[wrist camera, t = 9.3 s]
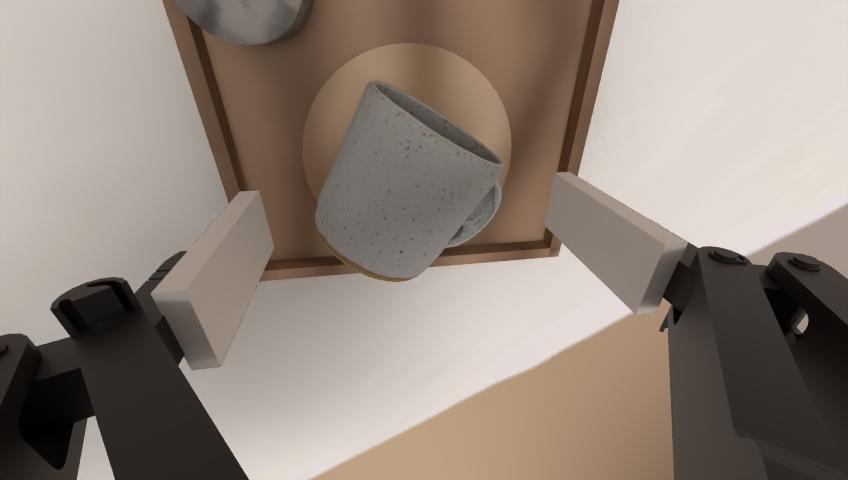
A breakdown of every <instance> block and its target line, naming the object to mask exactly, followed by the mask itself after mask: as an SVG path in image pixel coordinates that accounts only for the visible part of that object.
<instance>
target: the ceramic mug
mask: <svg viewBox="0 0 848 480" xmlns="http://www.w3.org/2000/svg"><path fill="white" fill-rule="evenodd" d="M504 168H505V166H504V163H503V162H502V160H501V159H500V158H499V157H498V156H497V155H496V154H495V153H494V152H493V151H491V150H490V149H489V148H487V147H486V146H485V145H484V144H483V143H481V142H480V141H479V140H477V139H476V138H475V137H474V136H472V135H471V134H469V133H468V132H466V131H465V130H464V129H462V128H461V127H460V126H458V125H457V124H455V123H454V122H452V121H451V120H449V119H447V118H446V117H444V116H443V115H441V114H440V113H439V112H437V111H436V110H434V109H432V108H431V107H429V106H427V105H426V104H424V103H422V102H421V101H419V100H418V99H416V98H413V97H412V96H411V95H409V94H407V93H405V92H403V91H401V90H399V89H397V88H395V87H393V86H391V85H389V84H387V83H383V82H380V81H371V82H370V83H368V84H367V86H366V88H365V90H364V92H363V95H362V97H361V100H360V102H359V105H358V107H357V110H356V112H355V114H354V116H353V119H352V121H351V123H350V125H349V128H348V130H347V132H346V135H345V137H344V139H343V142H342V144H341V146H340V149H339V151H338V154H337V157H336V159H335V161H334V163H333V166H332V168H331V170H330V172H329V175H328V177H327V179H326V182H325V184H324V186H323V188H322V191H321V193H320V196H319V201H318V205H317V209H316V213H315V224H316V229H317V231H318V234H319V236H320V238H321V240H322V241H323V243H324V244H325V246H326V247H327V248H328V249H329V251H330V252H331V253H332V254H333V255H334V256H336V257H337V258H338V259H339V260H341V261H342V262H343V263H344V264H345V265H347V266H348V267H350V268H352V269H354V270H356V271H357V272H359V273H362V274H364V275H366V276H368V277H372V278H375V279H379V280H383V281H391V282H400V281H406V280H410V279H412V278H415V277H417V276H418V275H419V274H421V273H422V272H423V271H424V270H425V269H427V268H428V267H429V266H430V265H431V264H432V263H433V262H434V261H435V259H436V258H437V257H438V256H439V255H440V254H441V252H442V251H443V250H444V248H448V247H454V246H458V245H460V244H462V243H464V242H466V241H468V240H469V239H471V238H472V237H474V236H475V235H476V234H478V233H479V232H480V231H481V230H482V229H483V228H484V227H485V226H486V225H487V224H488V223H489V221H490V220H491V219H492V218H493V216H494V215H495V213H496V211H497V209H498V207H499V205H500V203H501V199H502V189H501V184H500V182H499V180H498V179H499V178H500V176H501V175H502V173H503V171H504Z"/></svg>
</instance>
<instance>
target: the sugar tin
mask: <svg viewBox="0 0 848 480" xmlns="http://www.w3.org/2000/svg"><path fill="white" fill-rule="evenodd" d="M175 2H176V3H177V4H178V6H179V7H180V8H181V9H182V10H183V11H184V13H185V14H186V15H187V16H188V17H189V18H190V19H191V20H193V21H194V22H195V23H196V24H197V25H199V26H200V27H201V28H202V29H204V30H205V31H207V32H209V33H210V34H212V35H214V36H216V37H218V38H220V39H222V40H225V41H228V42H231V43H235V44H240V45H262V44H266V43H280V42H284V41H287V40H289V39H291V38H293V37H294V36H296V35H297V34H298V33H299V32H300V31H301V30H302V29H303V28H304V27H305V25H306V23H307V22H308V20H309V17H310V15H311V12H312V8H313V2H314V0H175Z"/></svg>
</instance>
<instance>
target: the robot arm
mask: <svg viewBox="0 0 848 480" xmlns="http://www.w3.org/2000/svg"><path fill="white" fill-rule="evenodd" d="M544 226H546V227H547V228H548V229H549V230H550V231H551V232H552V233H553V234H554V235H555V236H556V237H557V238H558V239H559V240H560V241H561V242H562V243H563V244H564V245H565V246H566V247H567V248H568V249H569V250H570V251H571V252H572V253H573V254H574V255H575V256H576V257H577V258H578V259H579V260H580V261H581V262H582V263H583V264H584V265H585V266H587V267H588V268H589V269H590V270H591V271H592V272H593V273H594V274H595V275H596V276H597V277H598V278H599V279H600V280H601V281H602V282H603V283H604V284H605V285H606V286H607V287H608V288H609V289H610V290H611V291H612V292H613V293H614V294H615V295H616V296H617V297H618V298H619V299H620V300H621V301H622V302H623V303H624V304H625V305H627V306H628V307H629V308H630V309H631V310H632V311H633V312H634V313H635V314H636V315H637V314H645V313H652V312H656V311H657V309H658V307H659V305H660V303H661V300H662V298H664V299H666V300H667V301H668V302H669V303H670V304H672V305H671V307H670V309H669V311H668V313H667V315H666V317H665V319H664V321H663V323H662V326H661V327H660V330H659V331H661V332H663V331H664V329H665V328H668V343H669V368H670V390H671V415H672V437H673V462H674V480H848V279H847V278H845V277H844V276H843V275H841V274H840V273H839V272H837V271H836V270H835V269H834V268H832V267H831V266H829V265H827V264H826V263H824V262H821V261H819V260H817V259H816V258H814V257H811V256H807V255H804V254H795V253H788V252H780V253H776V254H775V255H774V257H773V259H772V260H771V262H770V264H769V265H768V266H764V265H753V264H752V263H751V262H750V261H749V260H748V259H747V258H746V257H744V256H742V255H741V254H738V253H736V252H733V251H731V250H727V249H724V248H719V247H712V246H706V247H701V248H697V247H696V246H694V245H692V244H691V243H689V242H687V241H685V240H684V239H682V238H680V237H679V236H677V235H675V234H674V233H671V232H670V231H669V230H667V229H665V228H664V227H661V226H660V225H659V224H657V223H655V222H654V221H652V220H650V219H648V218H646V217H645V216H643V215H641V214H640V213H638V212H636V211H634V210H633V209H631V208H629V207H628V206H626V205H624V204H623V203H621V202H619V201H618V200H616V199H614V198H613V197H611V196H609V195H608V194H606V193H604V192H603V191H601V190H599V189H598V188H596V187H594V186H593V185H591V184H589V183H587V182H586V181H584V180H582V179H581V178H579V177H577V176H576V175H574V174H572V173H571V172H560V173H554V178H553V183H552V188H551V193H550V198H549V203H548V208H547V213H546V218H545V223H544ZM273 249H274V244H273V240H272V236H271V233H270V229H269V225H268V222H267V218H266V214H265V211H264V207H263V203H262V200H261V196H260V192H259V190H258V191H241V192H239V193H238V194H237V195H236V196H235V197H234V198H233V200H232V201H231V202H230V203H229V204H228V205H227V206H226V208H225V209H224V210H223V211H222V212H221V213H220V214H219V216H218V217H217V218H216V219H215V220H214V221H213V222H212V224H211V225H210V226H209V227H208V228H207V229H206V231H205V232H204V233H203V234H202V235H201V236H200V237H199V239H198V240H197V241H196V242H195V243H194V244H193V245H192V247H191V248H190V249H189V250H188V251H181V252H179V253H177V254H175V255H174V256H172V257H171V258H169V259H167V260H166V261H165V262H164V263H163V264H162V265H161V266H160V267H159V268H158V269H157V270H156V272H154V273H153V274H152V276H151V277H150V278H149V281H146V282H145V283H144V284H143V285H142V286H141V287H140V288H139V289H138V291H137V292H136V293H135V294H134V293H133V291H132V289H131V287H130V286H129V284H128V282H127V281H126V280H124V279H123V278H117V277H110V278H103V279H98V280H94V281H91V282H87V283H84V284H82V285H80V286H77V287H75V288H73V289H71V290H69V291H67V292H66V293H64V294H62V295H61V296H59V297H58V298H57V299H56V300H55V301H54V302H53V303H52V305H51V309H50V310H51V311H52V313H53V314H54V315H55V317H56V318H57V319H58V321H59V322H60V323H61V325H62V326H63V327H64V329H65V330H66V331H67V332H68V334H69V335H70V336H71V337H69V338H65V339H61V340H58V341H54V342H51V343H47V344H43V345H40V346H35V345H34V344H33V343H32V342H31V340H30V339H29V338H28V337H27V336H25V335H23V334H7V335H2V336H0V480H77V475H78V469H79V464H80V458H81V452H82V447H83V441H84V435H85V430H86V424H87V418H89V417H92V416H96V419H97V423H98V426H99V429H100V432H101V435H102V439H103V442H104V445H105V448H106V452H107V455H108V458H109V461H110V465H111V468H112V471H113V474H114V478H115V480H249V479H248V477H247V476H246V474H245V473H244V471H243V469H242V468H241V466H240V464H239V463H238V461H237V460H236V458H235V456H234V455H233V453H232V452H231V450H230V448H229V447H228V445H227V444H226V442H225V440H224V439H223V437H222V436H221V434H220V432H219V431H218V429H217V427H216V426H215V424H214V423H213V421H212V419H211V418H210V416H209V415H208V413H207V411H206V410H205V408H204V407H203V405H202V403H201V402H200V400H199V399H198V397H197V395H196V394H195V392H194V390H193V389H192V387H191V386H190V384H189V382H188V381H187V379H186V378H185V376H184V374H183V373H182V371H181V370H180V368H179V366H178V365H179V363H180V362H181V360H182V358H183V357H185V359H186V361H187V362H188V364H189V366H190V368H191V370H197V369H205V368H213V367H221V365H222V363H223V360H224V358H225V356H226V354H227V351H228V349H229V347H230V345H231V343H232V340H233V338H234V336H235V334H236V331H237V329H238V327H239V325H240V323H241V320H242V318H243V316H244V314H245V311H246V309H247V307H248V305H249V303H250V300H251V298H252V296H253V294H254V291H255V289H256V287H257V285H258V283H259V280H260V278H261V276H262V274H263V271H264V269H265V267H266V265H267V263H268V260H269V258H270V256H271V254H272V251H273ZM806 314H807V315H808V319H809V321H808V326H807V328H806V330H805V331H804V332H803V333H801V332H800V331H799V330H798V328H797V325H798V324H799V323H800V322H801V320H802V319H803V318H804V316H805V315H806Z"/></svg>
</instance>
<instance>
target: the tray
mask: <svg viewBox="0 0 848 480" xmlns="http://www.w3.org/2000/svg"><path fill="white" fill-rule="evenodd" d="M162 1H163V4H164V7H165V10H166V13H167V16H168V19H169V22H170V25H171V28H172V31H173V34H174V37H175V40H176V43H177V46H178V49H179V52H180V55H181V58H182V62H183V65H184V68H185V71H186V74H187V77H188V80H189V83H190V86H191V89H192V92H193V95H194V98H195V101H196V104H197V107H198V110H199V113H200V116H201V119H202V122H203V125H204V128H205V132H206V135H207V138H208V141H209V144H210V147H211V150H212V153H213V156H214V159H215V162H216V165H217V168H218V171H219V174H220V177H221V180H222V183H223V186H224V189H225V192H226V195H227V198H228V201H229V203H230V202H231V201H232V200H233V198H234V197H235V196H236V195H237V194H238V193H239V192H241V191H258V190H259V192H260V196H261V200H262V203H263V207H264V211H265V214H266V218H267V222H268V225H269V229H270V233H271V236H272V240H273V244H274V249H273V251H272V254H271V256H270V258H269V260H268V263H267V265H266V267H265V269H264V271H263V274H262V276H261V278H260V280H259V281H267V280H279V279H291V278H303V277H315V276H327V275H339V274H351V273H359V272H357V271H356V270H354V269H352V268H350V267H348V266H347V265H345V264H344V263H343V262H342V261H341V260H339V259H338V258H337V257H336V256H334V255H333V254H332V253H331V252H330V251H329V249H328V248H327V247H326V246H325V244H324V243H323V241H322V240H321V238H320V236H319V234H318V231H317V229H316V224H315V213H316V209H317V205H318V201H319V196H320V193H321V191H322V188H323V186H324V184H325V182H326V179H327V177H328V175H329V172H330V170H331V168H332V166H333V163H334V161H335V159H336V157H337V154H338V151H339V149H340V146H341V144H342V142H343V139H344V137H345V135H346V132H347V130H348V128H349V125H350V123H351V121H352V119H353V116H354V114H355V112H356V110H357V107H358V105H359V102H360V100H361V97H362V95H363V92H364V90H365V88H366V86H367V84H368V83H370V82H371V81H380V82H383V83H387V84H389V85H391V86H393V87H395V88H397V89H399V90H401V91H403V92H405V93H407V94H409V95H411V96H412V97H413V98H416V99H418V100H419V101H421V102H422V103H424V104H426V105H427V106H429V107H431V108H432V109H434V110H436V111H437V112H439V113H440V114H441V115H443V116H444V117H446V118H447V119H449V120H451V121H452V122H454V123H455V124H457V125H458V126H460V127H461V128H462V129H464V130H465V131H466V132H468V133H469V134H471V135H472V136H474V137H475V138H476V139H477V140H479V141H480V142H481V143H483V144H484V145H485V146H486V147H487V148H489V149H490V150H491V151H493V152H494V153H495V154H496V155H497V156H498V157H499V158H500V159H501V160H502V162H503V163H504V166H505V168H504V171H503V173H502V175H501V176H500V178H499V179H498V180H499V182H500V184H501V189H502V199H501V203H500V205H499V207H498V209H497V211H496V213H495V215H494V216H493V218H492V219H491V220H490V221H489V223H488V224H487V225H486V226H485V227H484V228H483V229H482V230H481V231H480V232H479V233H478V234H476V235H475V236H474V237H472V238H471V239H469V240H468V241H466V242H464V243H462V244H460V245H458V246H454V247H448V248H444V250H443V251H442V252H441V254H440V255H439V256H438V257H437V258H436V259H435V261H434V262H433V263H432V264H431V265H430V266H429V267H436V266H448V265H460V264H472V263H484V262H496V261H508V260H520V259H532V258H545V257H557V256H558V255H559V251H560V247H561V243H562V242H561V241H560V240H559V239H558V238H557V237H556V236H555V235H554V234H553V233H552V232H551V231H550V230H549V229H548V228H547V227H546V226H544V223H545V218H546V213H547V208H548V203H549V198H550V193H551V188H552V183H553V178H554V173H560V172H571V173H572V174H574V175H576V176H578V171H579V167H580V163H581V159H582V155H583V150H584V146H585V142H586V138H587V134H588V129H589V125H590V121H591V117H592V113H593V109H594V104H595V100H596V96H597V92H598V88H599V83H600V79H601V75H602V71H603V67H604V62H605V58H606V54H607V50H608V46H609V42H610V37H611V33H612V29H613V25H614V21H615V16H616V12H617V8H618V4H619V0H314V2H313V8H312V12H311V15H310V17H309V20H308V22H307V23H306V25H305V27H304V28H303V29H302V30H301V31H300V32H299V33H298V34H297V35H296V36H294V37H293V38H291V39H289V40H287V41H284V42H280V43H266V44H262V45H240V44H235V43H231V42H228V41H225V40H222V39H220V38H218V37H216V36H214V35H212V34H210V33H209V32H207V31H205V30H204V29H202V28H201V27H200V26H199V25H197V24H196V23H195V22H194V21H193V20H191V19H190V18H189V17H188V16H187V15H186V14H185V13H184V11H183V10H182V9H181V8H180V7H179V6H178V4H177V3H176V2H175V0H162Z"/></svg>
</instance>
